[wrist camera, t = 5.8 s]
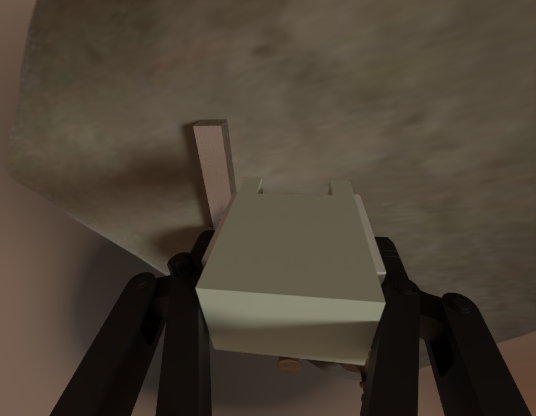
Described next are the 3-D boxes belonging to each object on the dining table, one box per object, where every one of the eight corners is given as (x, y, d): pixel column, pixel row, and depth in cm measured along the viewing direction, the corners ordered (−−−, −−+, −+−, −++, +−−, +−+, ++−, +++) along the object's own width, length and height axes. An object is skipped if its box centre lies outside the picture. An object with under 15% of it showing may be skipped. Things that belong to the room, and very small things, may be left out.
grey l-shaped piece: (184, 120, 29) (140, 150, 21) (243, 119, 28) (221, 150, 20) (215, 260, 41) (194, 313, 33) (257, 263, 40) (246, 317, 32)
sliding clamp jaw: (243, 177, 17) (195, 288, 10) (349, 179, 16) (385, 302, 9) (250, 237, 20) (217, 357, 12) (340, 241, 19) (361, 373, 12)
